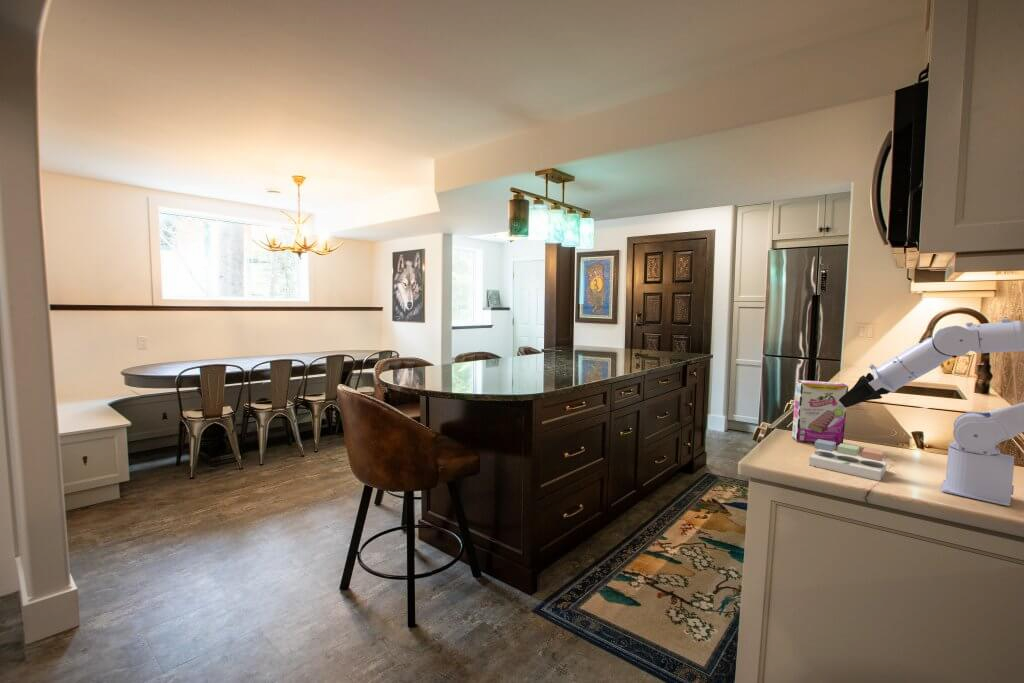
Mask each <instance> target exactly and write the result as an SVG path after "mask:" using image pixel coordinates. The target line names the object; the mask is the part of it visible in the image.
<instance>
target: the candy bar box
mask: <svg viewBox="0 0 1024 683" xmlns="http://www.w3.org/2000/svg"><path fill="white" fill-rule="evenodd" d="M848 391H849V385H847V384H844V383H842V382H836V381H835V382H834V381H833V382H832V381H817V380H806V379H805V380H803V379H796V382H795V391H794V392H795V394H794V407H793V408H794V409H793V417H792V428H791V429H792V430H791V437H792V439H793V438H794V441H795V442H797V443H807V442H811V443H810V444H815V441H817V440H818V439H821V440H826V441H832V442H836V446H839V445H840V444H841V443H842V444H844V436H845V426H846V415H847V407H846V408H845V407H844V406H843V405H842V404H841V402H840V401H839V399H840V398H841V397H842V396H843V395H844V394H846V393H847V392H848Z"/></svg>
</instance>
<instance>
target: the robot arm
mask: <svg viewBox="0 0 1024 683" xmlns="http://www.w3.org/2000/svg"><path fill="white" fill-rule="evenodd" d="M970 351H971V352H974V353H976V354H988V353H989V354H992V353H993V354H994V353H1008V352H1009V353H1010V352H1023V351H1024V322H1023V321H1021V320H1012V321H1011V318H1001V319H1000V321H998V322H987V323H975V324H974V323H973V322H966V323H965V327H964V326H961V325H948V326H945V327H943V328H939V329H938V330H937V331H936V332H935V333H934V336H933V337H932V336H930V337H928V338H926V339H924V340H922V342H918V343H916V344H914V345H912V346H911V347H909V348H907V349H905V350H904V351H902V352H900V353H899V354H897V355H895V356H894V357H892V358H891V359H889V360H888V361H887V360H886V361H885V362H883V363H882V364H881V365H878V366H877V367H876V366H875V364H873V363H870V364H868V367H869V368H870V370H871V372H867V375H866V376H865V375H864V374H863V375H860V377H858V378H859V379H858V380H857V382H856V383H855V384H854V386H853V387H852V388H850V390H849V389H848V392H847V393H846V394H844V395H843V396H842V397H841V398H840V399H839V401H840V402H841V404H842V405H843V406H844V407H845V408H846V409H847V408H850V407H853V406H856V405H859V404H861V403H864V402H868V401H874V400H881V399H883V396H882V395H888V394H890V392H891V393H895V392H897V391H898V389H901V388H902V387H904V386H906V385H907V384H909V383H911V382H913V381H914V380H916V379H918V378H920V377H922V376H924V375H926V374H928V373H929V372H931V371H933V370H935V369H937V368H939V367H940V366H941V365H942V363H943V364H944V363H945V362H946V361H948V360H951V359H952V358H953V356H957V357H961V356H964V355H966V354H968V353H970ZM953 422H954V423H953V431H952V435H953V438H954V440H952V441H949V442H948V450H947V460H946V461H947V462H946V470H945V473H946V474H945V479H943V482H942V485H941V487H940V488H941V490H940V491H941V492H943V493H946V494H952V495H955V496H961V497H965V498H969V499H974V500H979V501H983V502H988V503H993V504H997V505H1001V506H1007V507H1010V506H1011V501H1012V500H1011V499H1012V498H1011V497H1012V496H1013V495H1014V490H1015V485H1014V484H1013V478H1014V469H1015V456H1013V455H1009V454H1005V453H1001V450H1000V448H998V447H997V446H998V445H999V444H1000V443H1002V442H1004V441H1009V440H1011V439H1014V438H1015V437H1017V436H1019V435H1021V434H1022V433H1024V402H1019V403H1017V404H1015V405H1014V404H1013V405H1012V406H1007V407H1001V408H996V409H991V410H988V411H983V412H982V411H981V412H977V411H968V412H964V413H961V414H960V415H959V416H957V417H956V419H954V421H953Z"/></svg>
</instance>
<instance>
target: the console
mask: <svg viewBox="0 0 1024 683" xmlns="http://www.w3.org/2000/svg"><path fill="white" fill-rule="evenodd" d="M808 458H809V459H808V466H810V465H811V466H812V467H815V466H816V468H821V469H825V470H829V471H833V472H838V473H843V474H845V475H851V476H856V477H861V478H865V479H870V480H873V481H879V482H880V481H881V479H882V478H883V476H884V475H885V473H886V472H887V465H888V462H887V461H884V460H882V462H881V461H876V460H871V459H866V458H862V456H859V455H857V456H851V455H846V454H841V453H837V451H835V450H833V451H832V452H831V451H826V450H821V449H817V450H816V451H814V453H812V454H811V455H810V456H809V457H808ZM811 466H810V467H811Z"/></svg>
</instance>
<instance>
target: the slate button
mask: <svg viewBox="0 0 1024 683" xmlns="http://www.w3.org/2000/svg"><path fill="white" fill-rule="evenodd" d="M836 446H837V445H836V442H832V441H826V440H821V439H818V440H817V441H815V443H814V449H817V450H818V449H821V450H826V451H831V452H832V451H835V449H836Z"/></svg>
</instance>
